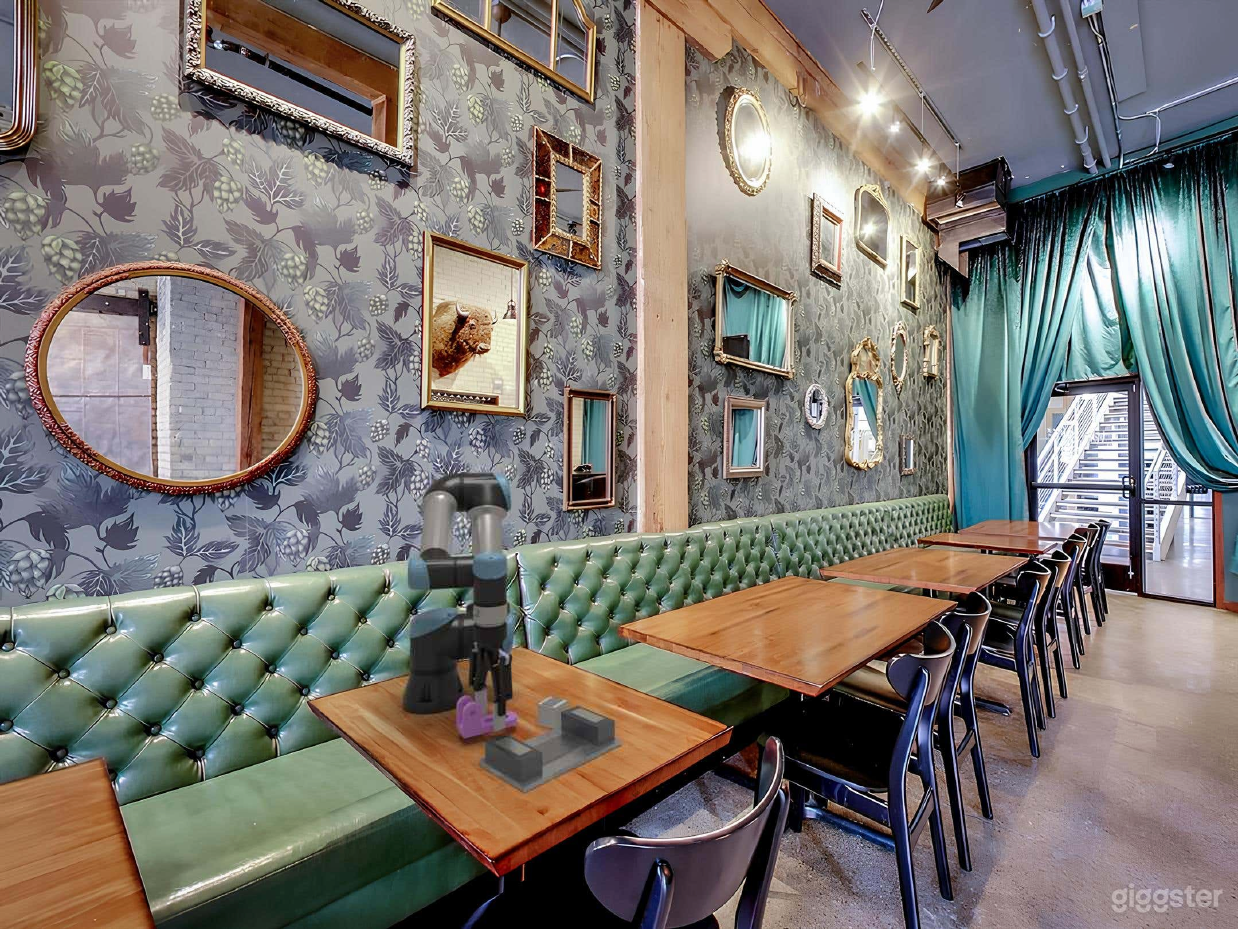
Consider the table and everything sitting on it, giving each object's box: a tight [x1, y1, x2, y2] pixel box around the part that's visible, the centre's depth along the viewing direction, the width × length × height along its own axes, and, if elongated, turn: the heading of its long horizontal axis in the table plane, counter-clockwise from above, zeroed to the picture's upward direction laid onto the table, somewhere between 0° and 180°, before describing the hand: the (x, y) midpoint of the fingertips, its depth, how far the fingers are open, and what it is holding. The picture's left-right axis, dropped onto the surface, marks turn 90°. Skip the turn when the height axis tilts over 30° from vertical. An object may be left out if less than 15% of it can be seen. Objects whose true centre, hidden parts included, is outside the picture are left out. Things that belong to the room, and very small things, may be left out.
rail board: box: [478, 705, 622, 794], centre depth 121 cm, size 15×26×5 cm, turn 136°
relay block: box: [537, 696, 568, 730], centre depth 137 cm, size 5×5×5 cm
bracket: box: [456, 694, 518, 739], centre depth 131 cm, size 13×6×7 cm, turn 122°
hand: (489, 723), depth 131 cm, fingers closed on bracket, 6 cm apart
